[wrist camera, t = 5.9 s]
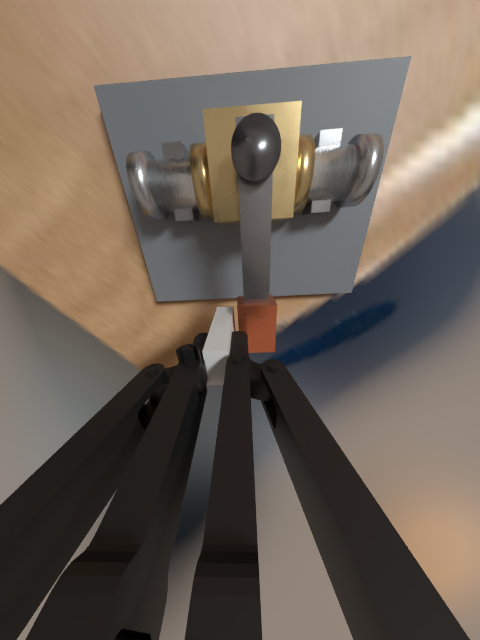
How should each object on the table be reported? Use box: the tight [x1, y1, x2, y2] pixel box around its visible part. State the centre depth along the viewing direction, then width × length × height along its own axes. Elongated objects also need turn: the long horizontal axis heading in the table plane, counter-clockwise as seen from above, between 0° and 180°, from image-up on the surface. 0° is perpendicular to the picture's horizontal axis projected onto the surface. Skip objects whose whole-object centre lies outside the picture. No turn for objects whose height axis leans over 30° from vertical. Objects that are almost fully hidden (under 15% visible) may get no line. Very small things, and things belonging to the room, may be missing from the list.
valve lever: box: [231, 113, 281, 353], centre depth 13 cm, size 15×3×3 cm, turn 3°
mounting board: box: [94, 56, 411, 302], centre depth 18 cm, size 24×18×2 cm
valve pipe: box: [126, 101, 384, 225], centre depth 14 cm, size 18×6×6 cm, turn 93°
